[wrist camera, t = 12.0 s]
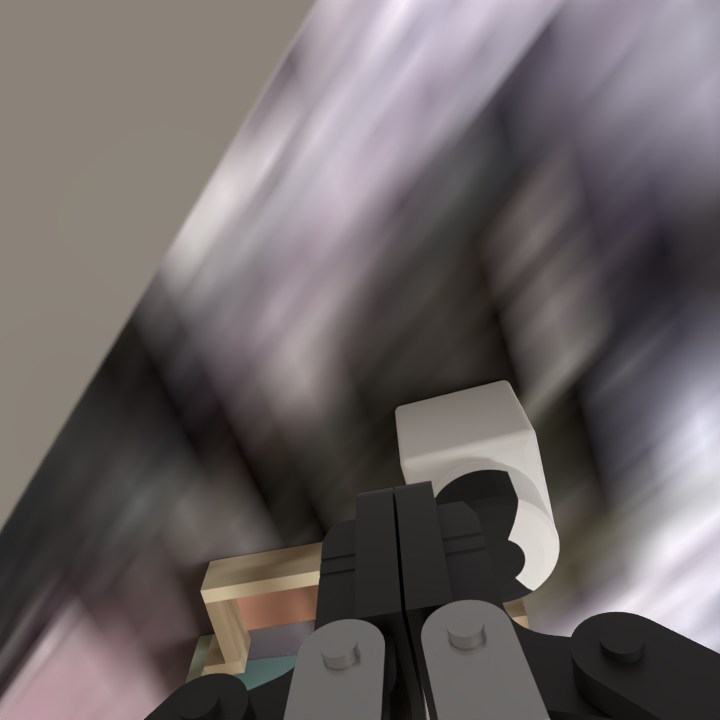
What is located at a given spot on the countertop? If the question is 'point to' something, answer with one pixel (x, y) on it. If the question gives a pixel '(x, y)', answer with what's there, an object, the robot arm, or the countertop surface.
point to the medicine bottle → (486, 476)
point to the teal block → (265, 670)
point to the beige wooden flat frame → (264, 603)
